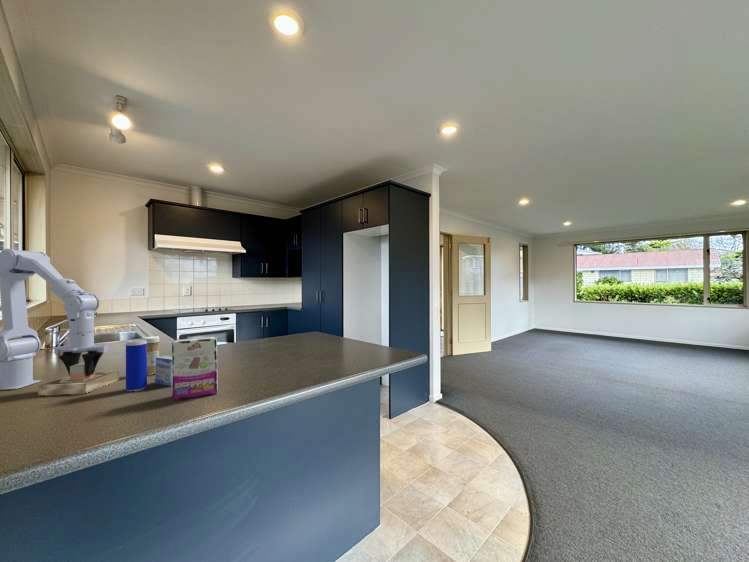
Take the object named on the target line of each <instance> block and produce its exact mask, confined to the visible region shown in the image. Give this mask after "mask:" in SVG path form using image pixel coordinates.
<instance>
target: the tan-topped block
mask: <svg viewBox="0 0 749 562" xmlns="http://www.w3.org/2000/svg"><path fill="white" fill-rule="evenodd" d="M93 377H94V374H93V375H90V376H86V374H85V363H84V362H79V364H76V365H73V366H70V381H85V380H88V379H90V378H93Z"/></svg>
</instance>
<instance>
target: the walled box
mask: <svg viewBox="0 0 749 562" xmlns="http://www.w3.org/2000/svg"><path fill="white" fill-rule="evenodd" d="M94 375H103V377H101V378H98V379H95V380H93V381H90V382H87V383H75V384H59V382H61V381H64V380H67V379H70V376H69V375H67V376H64V377H61V378H58V379H55V380H52V381H48V382H45V383H43V384H38V389H37V390H38V396H39V395H45V396H62V395H61V394H71V395H86V394H85V393H87V394H89V393H88V392H90V393H92V392H94V391H96V390H95V389H97V390H99V389H101V387H102V388H104V387H106V386H108V384H109V385H111V384H114V383H116V382H118V381H117V380H119V381H120V371H119V370H118V371H96V372H95V371H94ZM115 381H116V382H115ZM113 382H114V383H113ZM110 383H111V384H110ZM105 385H106V386H105ZM103 386H104V387H103ZM98 388H99V389H98ZM93 390H94V391H93ZM91 391H92V392H91ZM39 397H40V396H39Z"/></svg>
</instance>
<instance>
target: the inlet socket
mask: <svg viewBox="0 0 749 562" xmlns="http://www.w3.org/2000/svg"><path fill="white" fill-rule="evenodd" d="M101 377H103V375H94V377H93V378H90V379H88V380H85V381H70V379H67V380H64V381H61V382H59V384H75V383H87V382H90V381H93V380H95V379H98V378H101Z"/></svg>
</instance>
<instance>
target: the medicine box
mask: <svg viewBox="0 0 749 562" xmlns="http://www.w3.org/2000/svg"><path fill="white" fill-rule="evenodd" d="M154 376H155V377H154V379H155V382H154V383H155V384H156V385H158V384H161V385H160V386H165V385H166V387H171V386H172V387H173V374H172V355H168V354H167V355H162V356H159V357H157V358H156V374H155V375H154Z"/></svg>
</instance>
